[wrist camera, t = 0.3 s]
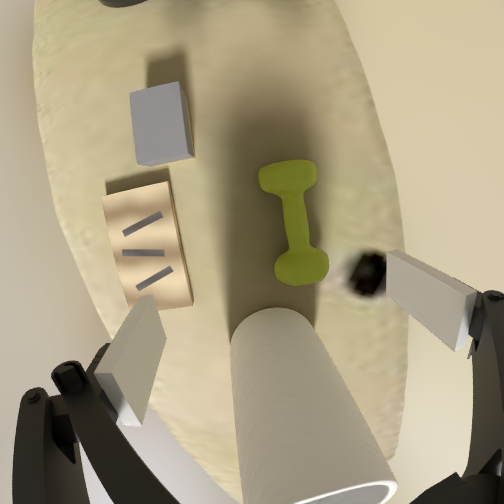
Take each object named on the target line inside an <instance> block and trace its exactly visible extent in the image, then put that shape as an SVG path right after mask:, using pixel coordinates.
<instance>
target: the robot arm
mask: <svg viewBox="0 0 504 504" xmlns="http://www.w3.org/2000/svg"><path fill="white" fill-rule="evenodd" d="M99 1H100V2H101V3H102V4H103V5H105V6H108V7H116V8H118V7H127V6H132V5H136V4H139V3H142V2H144V1H147V0H99ZM386 296H388V297H389V298H390V299H391V300H393V301H394V302H395V303H396V304H398V305H399V306H400V307H401V308H403V309H404V310H405V311H406V312H408V313H409V314H410V315H411V316H412V317H414V318H415V319H416V320H417V321H419V322H420V323H421V324H422V325H423V326H425V327H426V328H427V329H428V330H429V331H430V332H432V333H433V334H434V335H435V336H436V337H438V338H439V339H440V340H441V341H442V342H443V343H444V344H446V345H447V346H448V347H449V348H450V349H451V350H453V351H454V352H455V351H457V350H459V349H461V348H462V347H464V346H465V345H466V341H467V337H468V334H469V335H470V336H471V337H473V340H472V344H471V347H470V350H469V354H468V358H467V359H469V358H470V356H471V355H472V365H473V418H472V432H471V443H470V451H469V459H468V464H467V467H466V470H465V472H464V474H463V476H462V477H459V475H458V474H457V472H455V473H454V474H452V475H450V476H449V477H447V478H446V479H444V480H442V481H441V482H439V483H437V484H436V485H434V486H432V487H430V488H429V489H427V490H426V491H424V492H423V493H422V494H421V495H419V496H418V497H417V498H416V499H415V500H413V501H412V502H411V503H410V504H504V294H503V293H501V292H499V291H494V290H490V291H485V292H484V293H481V292H479V291H477V290H475V289H474V288H472V287H470V286H468V285H466V284H465V283H463V282H461V281H459V280H457V279H455V278H453V277H451V276H449V275H447V274H445V273H443V272H441V271H439V270H437V269H435V268H433V267H431V266H429V265H427V264H426V263H424V262H421V261H420V260H418V259H416V258H413V257H411V256H409V255H407V254H405V253H403V252H401V251H399V250H393V251H389V252H387V284H386ZM166 339H167V338H166V335H165V332H164V329H163V326H162V323H161V320H160V317H159V314H158V310H157V307H156V304H155V301H154V297H153V295H146V296H140V297H139V298H138V300H137V302H136V303H135V305H134V306H133V308H132V309H131V311H130V313H129V314H128V316H127V317H126V319H125V321H124V322H123V324H122V326H121V327H120V329H119V330H118V332H117V334H116V335H115V337H114V339H113V340H112V342H111V343H106V344H105V345H104V346H103V347H101V348H100V349H99V351H98V352H97V354H96V355H95V358H94V359H93V360H92V363H91V364H90V366H89V367H88V369H87V370H86V372H85V371H84V369H83V367H82V365H81V364H80V363H79V362H78V361H67V362H64V363H62V364H60V365H58V366H57V367H56V368H55V369H54V370H53V372H52V373H51V378H52V380H53V381H54V383H55V385H56V387H57V388H58V390H59V392H60V393H61V395H55V396H51V397H49V395H48V394H47V392H46V391H45V390H44V389H43V388H40V387H37V388H33V389H30V390H28V391H27V392H26V393H25V395H24V396H23V397H22V399H21V403H20V408H19V414H18V420H17V427H16V435H15V444H14V455H13V475H12V496H13V504H90V501H89V497H88V493H87V488H86V483H85V479H84V473H83V468H82V462H81V456H80V448H79V442H81V445H82V447H83V449H84V451H85V453H86V455H87V457H88V459H89V461H90V463H91V465H92V467H93V469H94V470H95V472H96V474H97V476H98V478H99V480H100V481H101V483H102V485H103V487H104V488H105V490H106V492H107V493H108V495H109V497H110V498H111V500H112V501H113V503H114V504H180V503H179V502H178V501H177V500H176V498H175V497H173V495H172V494H171V493H170V492H169V491H168V490H167V489H166V488H165V487H164V485H163V484H162V483H161V482H160V481H159V480H158V479H157V478H156V476H155V475H154V474H153V473H152V472H151V470H150V469H149V468H148V467H147V465H146V464H145V463H144V462H143V460H142V459H141V458H140V457H139V456H138V454H137V453H136V451H135V450H134V449H133V447H132V446H131V445H130V443H129V442H128V441H127V439H126V438H125V436H124V435H123V433H122V432H121V430H120V429H119V428H118V426H117V425H116V421H117V419H118V416H119V418H120V419H121V421H122V422H123V424H124V426H142V423H143V419H144V415H145V411H146V407H147V404H148V400H149V397H150V393H151V389H152V386H153V382H154V379H155V375H156V372H157V368H158V365H159V362H160V358H161V355H162V352H163V348H164V345H165V342H166Z"/></svg>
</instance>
